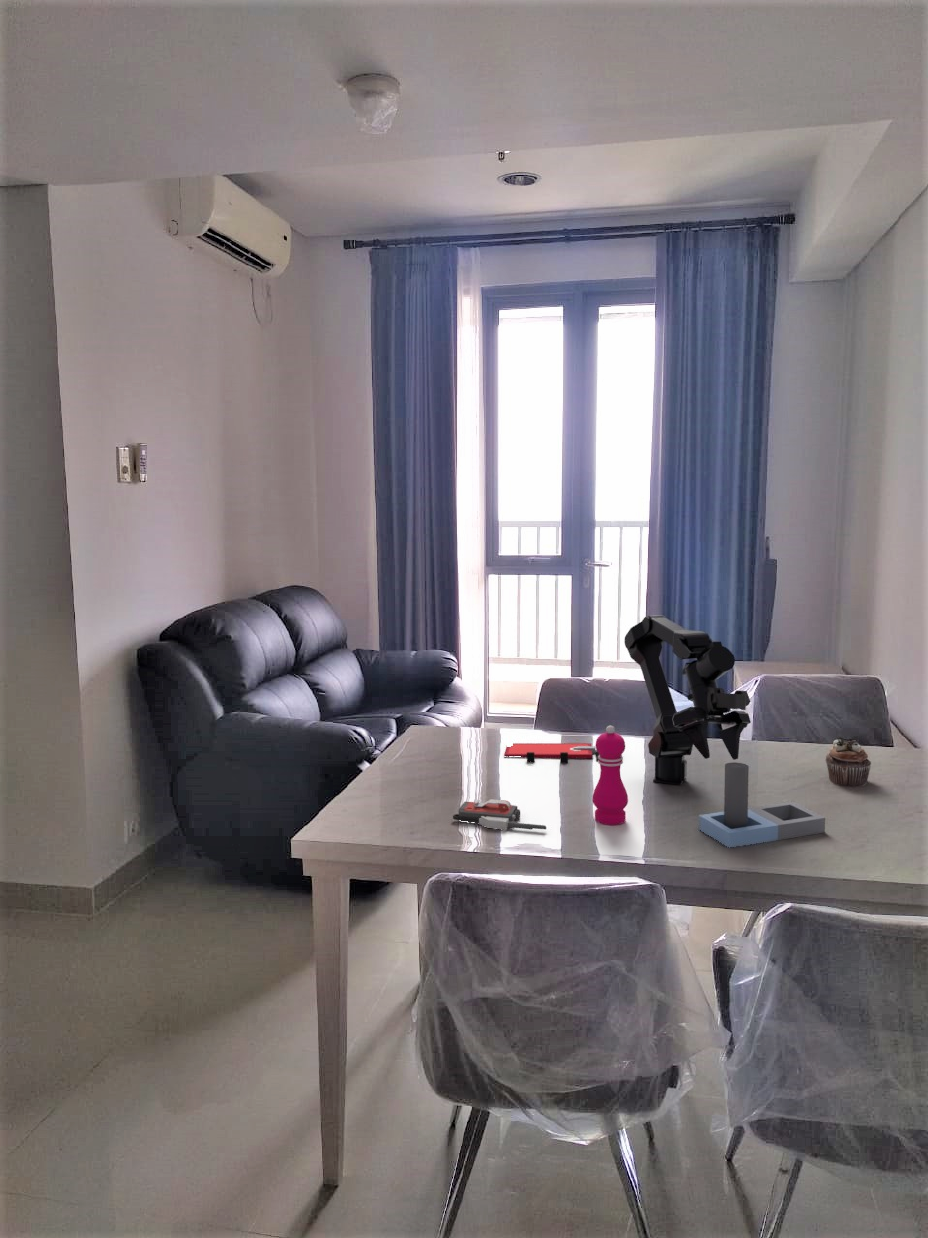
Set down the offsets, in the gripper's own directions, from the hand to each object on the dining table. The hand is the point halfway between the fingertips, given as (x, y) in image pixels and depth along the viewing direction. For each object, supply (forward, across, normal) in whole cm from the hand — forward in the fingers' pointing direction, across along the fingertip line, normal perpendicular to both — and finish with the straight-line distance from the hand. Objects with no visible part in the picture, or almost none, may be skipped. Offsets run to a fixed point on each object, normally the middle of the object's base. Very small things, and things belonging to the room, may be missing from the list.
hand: (721, 758), depth 180 cm
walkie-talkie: (+6, -36, +31) cm, 48 cm away
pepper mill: (+9, -18, +18) cm, 26 cm away
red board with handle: (-15, +5, +52) cm, 54 cm away
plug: (+16, -4, -2) cm, 17 cm away
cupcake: (+5, +41, -2) cm, 42 cm away
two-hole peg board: (+16, +1, -4) cm, 16 cm away
